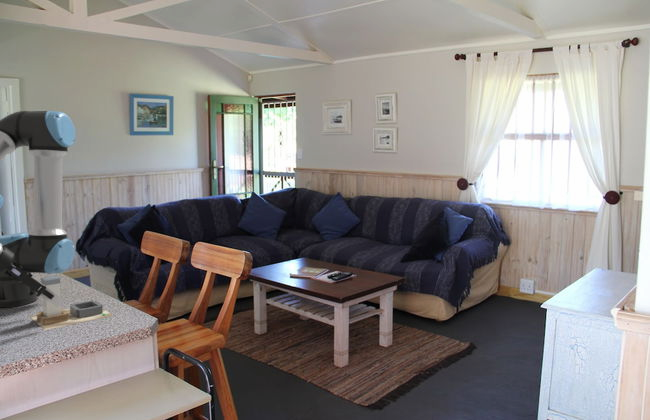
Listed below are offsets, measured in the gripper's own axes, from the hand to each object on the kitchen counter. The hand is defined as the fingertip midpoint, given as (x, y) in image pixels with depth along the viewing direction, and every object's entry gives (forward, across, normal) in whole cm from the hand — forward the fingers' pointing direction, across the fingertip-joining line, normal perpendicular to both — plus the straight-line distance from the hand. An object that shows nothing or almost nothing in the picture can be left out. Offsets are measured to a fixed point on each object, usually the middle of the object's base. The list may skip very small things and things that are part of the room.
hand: (53, 298), depth 170 cm
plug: (+5, 0, -5) cm, 7 cm away
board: (+9, 0, -2) cm, 10 cm away
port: (+12, 0, +2) cm, 12 cm away
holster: (+5, 0, -5) cm, 7 cm away
